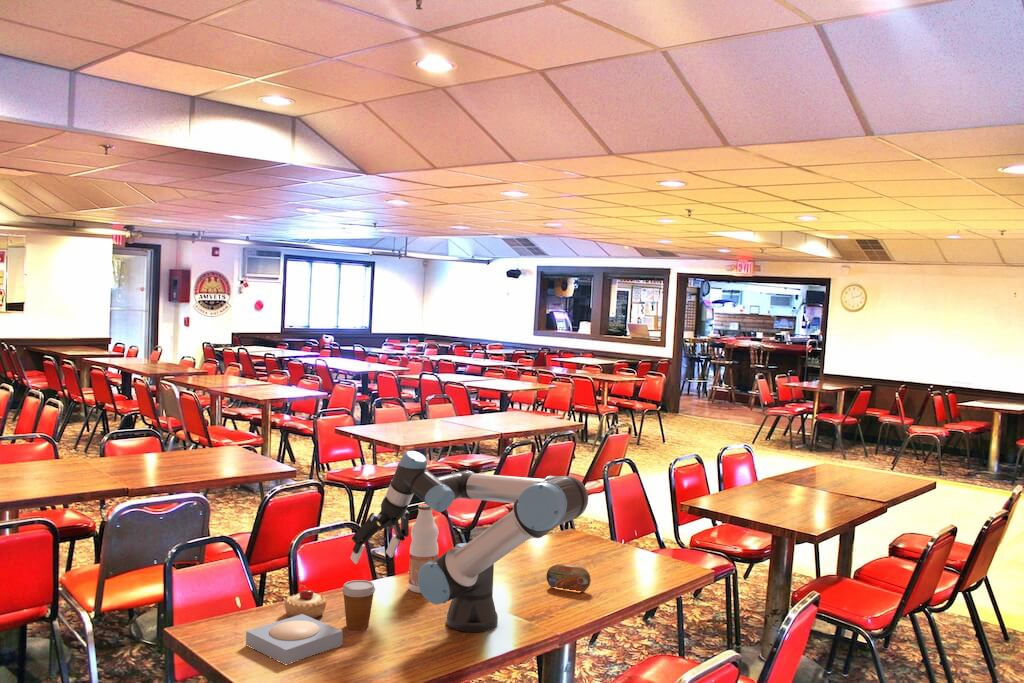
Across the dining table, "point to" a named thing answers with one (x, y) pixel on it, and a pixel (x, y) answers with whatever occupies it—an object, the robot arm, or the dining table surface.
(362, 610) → the disposable coffee cup
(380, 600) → the dining table surface
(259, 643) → the serving stand
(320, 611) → the pastry
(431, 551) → the fruit juice
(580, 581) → the tin
